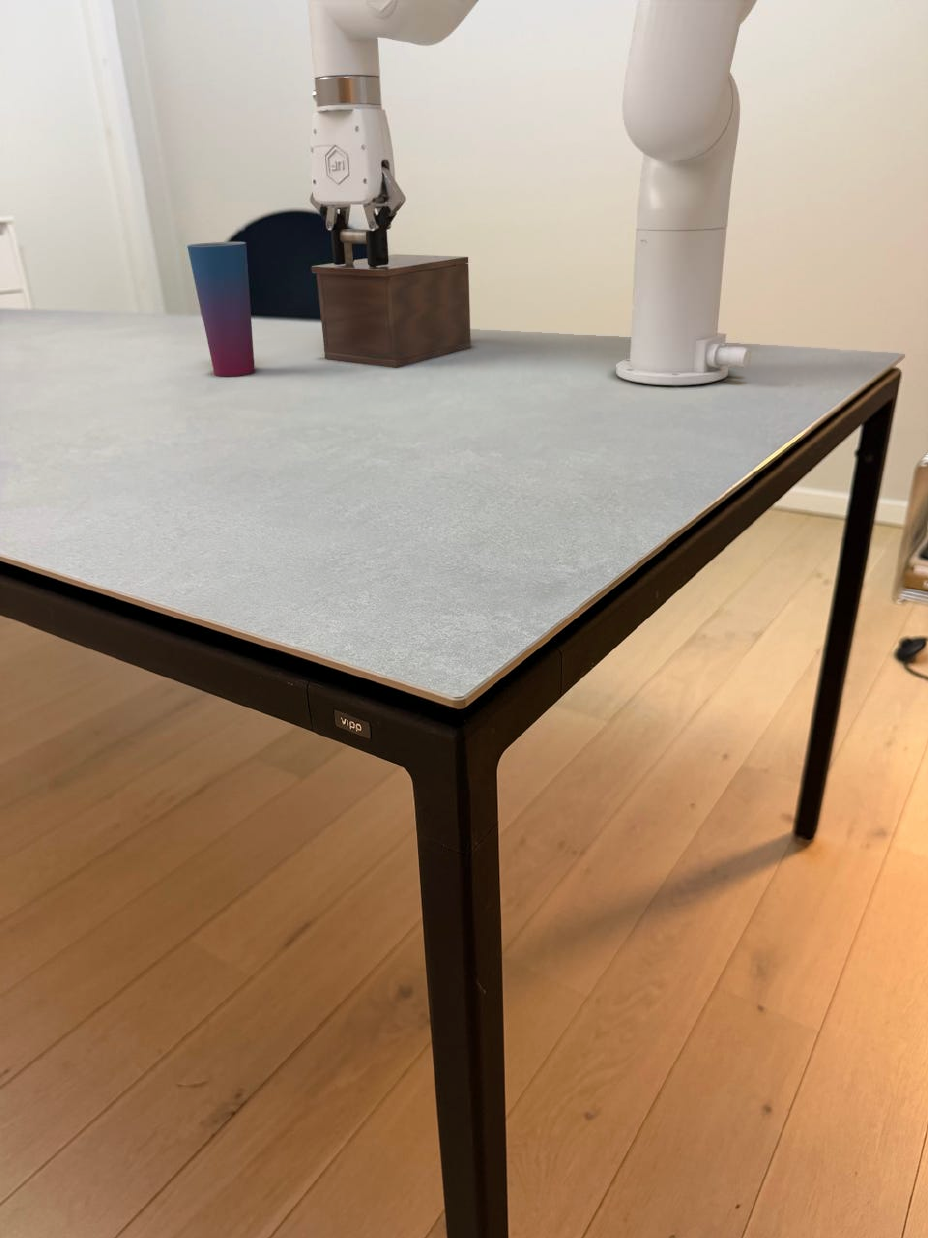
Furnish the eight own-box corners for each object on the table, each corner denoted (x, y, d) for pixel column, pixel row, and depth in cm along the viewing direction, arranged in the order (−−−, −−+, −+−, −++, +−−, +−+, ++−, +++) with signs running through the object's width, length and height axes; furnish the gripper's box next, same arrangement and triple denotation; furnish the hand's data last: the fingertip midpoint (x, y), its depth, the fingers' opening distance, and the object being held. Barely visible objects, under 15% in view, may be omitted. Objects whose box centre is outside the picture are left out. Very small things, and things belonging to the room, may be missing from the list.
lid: (386, 276, 110) (383, 231, 107) (311, 272, 117) (307, 230, 114) (468, 263, 121) (467, 221, 119) (396, 260, 128) (394, 221, 126)
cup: (196, 377, 113) (176, 246, 107) (222, 366, 119) (204, 241, 113) (247, 378, 112) (229, 245, 105) (271, 367, 118) (255, 241, 111)
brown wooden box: (396, 367, 115) (390, 275, 110) (324, 358, 122) (316, 272, 117) (470, 347, 126) (468, 263, 121) (401, 340, 133) (396, 260, 128)
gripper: (274, 101, 109) (291, 265, 117) (382, 90, 99) (392, 270, 107) (319, 102, 114) (333, 259, 122) (426, 93, 104) (433, 264, 113)
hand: (361, 262), depth 114 cm, fingers closed on lid, 5 cm apart
